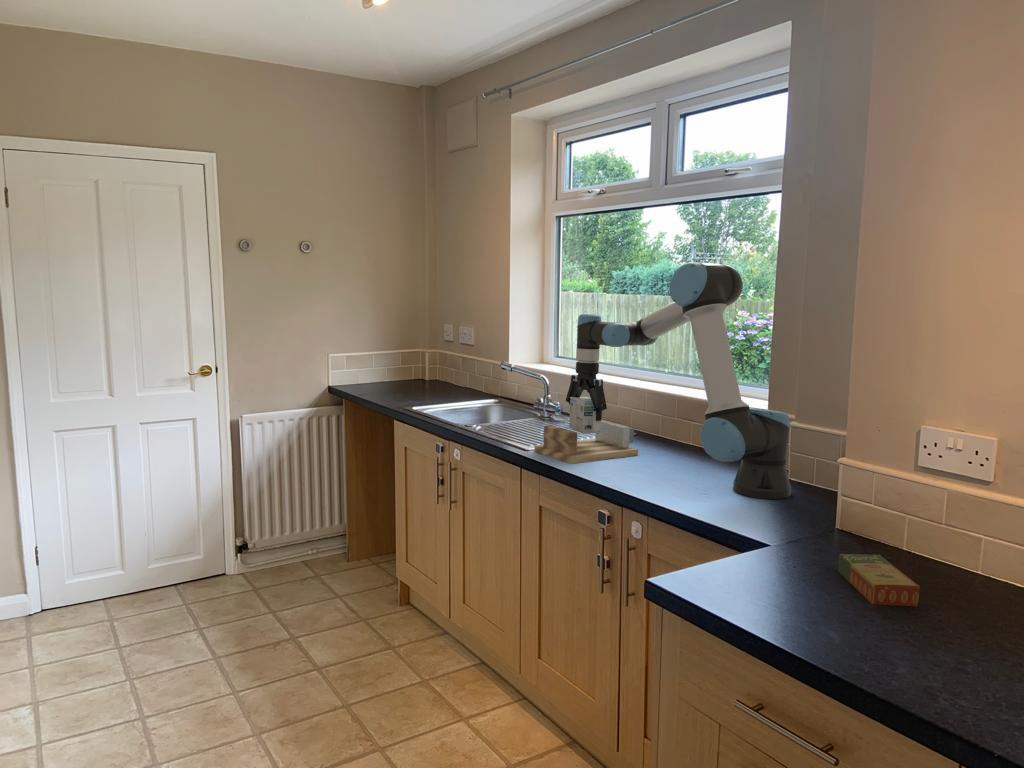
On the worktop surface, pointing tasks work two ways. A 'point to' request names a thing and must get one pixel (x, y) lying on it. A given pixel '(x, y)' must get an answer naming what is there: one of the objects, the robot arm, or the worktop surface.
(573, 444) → the vise
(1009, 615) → the worktop surface
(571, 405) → the light bulb box
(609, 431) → the sliding jaw
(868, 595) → the carton
